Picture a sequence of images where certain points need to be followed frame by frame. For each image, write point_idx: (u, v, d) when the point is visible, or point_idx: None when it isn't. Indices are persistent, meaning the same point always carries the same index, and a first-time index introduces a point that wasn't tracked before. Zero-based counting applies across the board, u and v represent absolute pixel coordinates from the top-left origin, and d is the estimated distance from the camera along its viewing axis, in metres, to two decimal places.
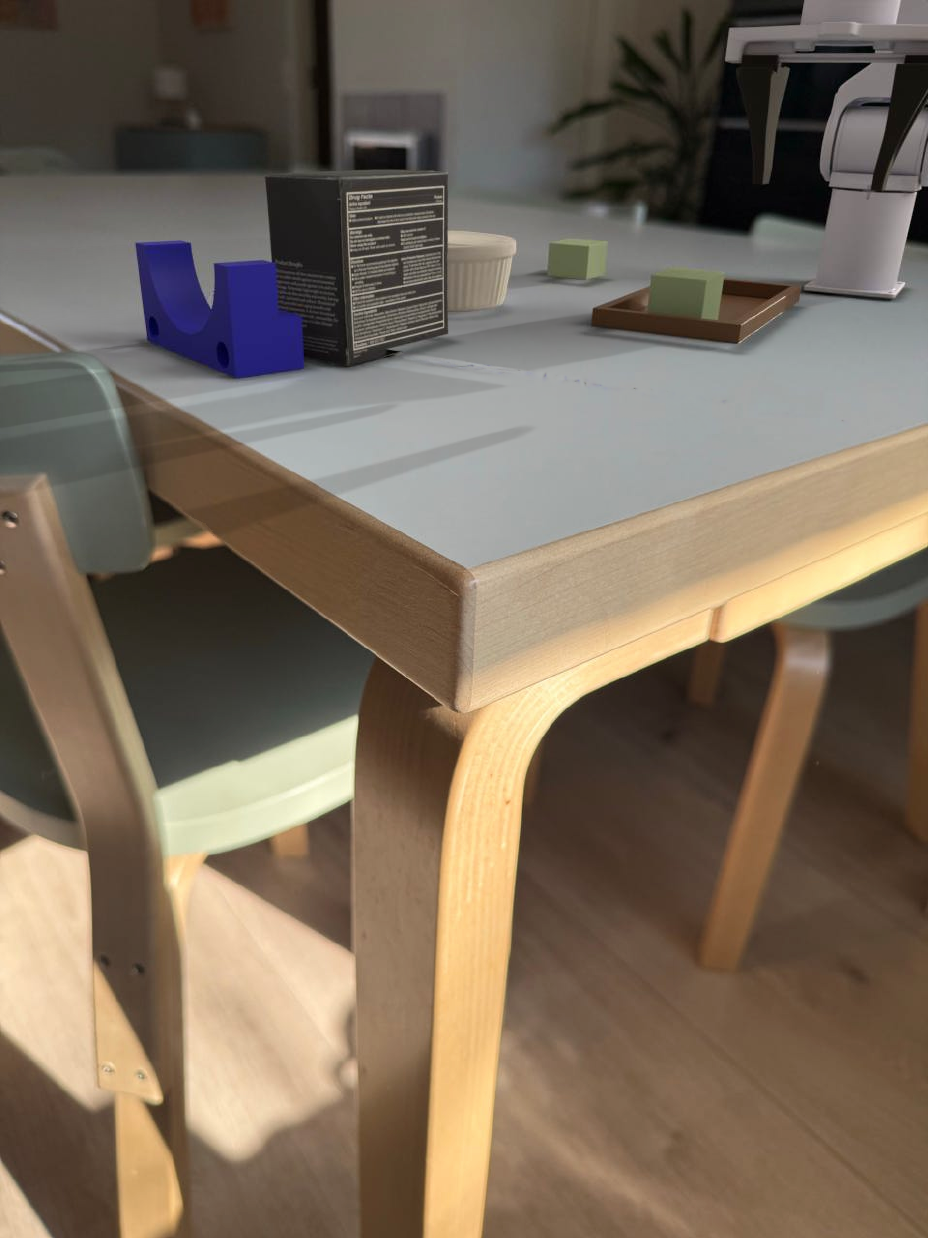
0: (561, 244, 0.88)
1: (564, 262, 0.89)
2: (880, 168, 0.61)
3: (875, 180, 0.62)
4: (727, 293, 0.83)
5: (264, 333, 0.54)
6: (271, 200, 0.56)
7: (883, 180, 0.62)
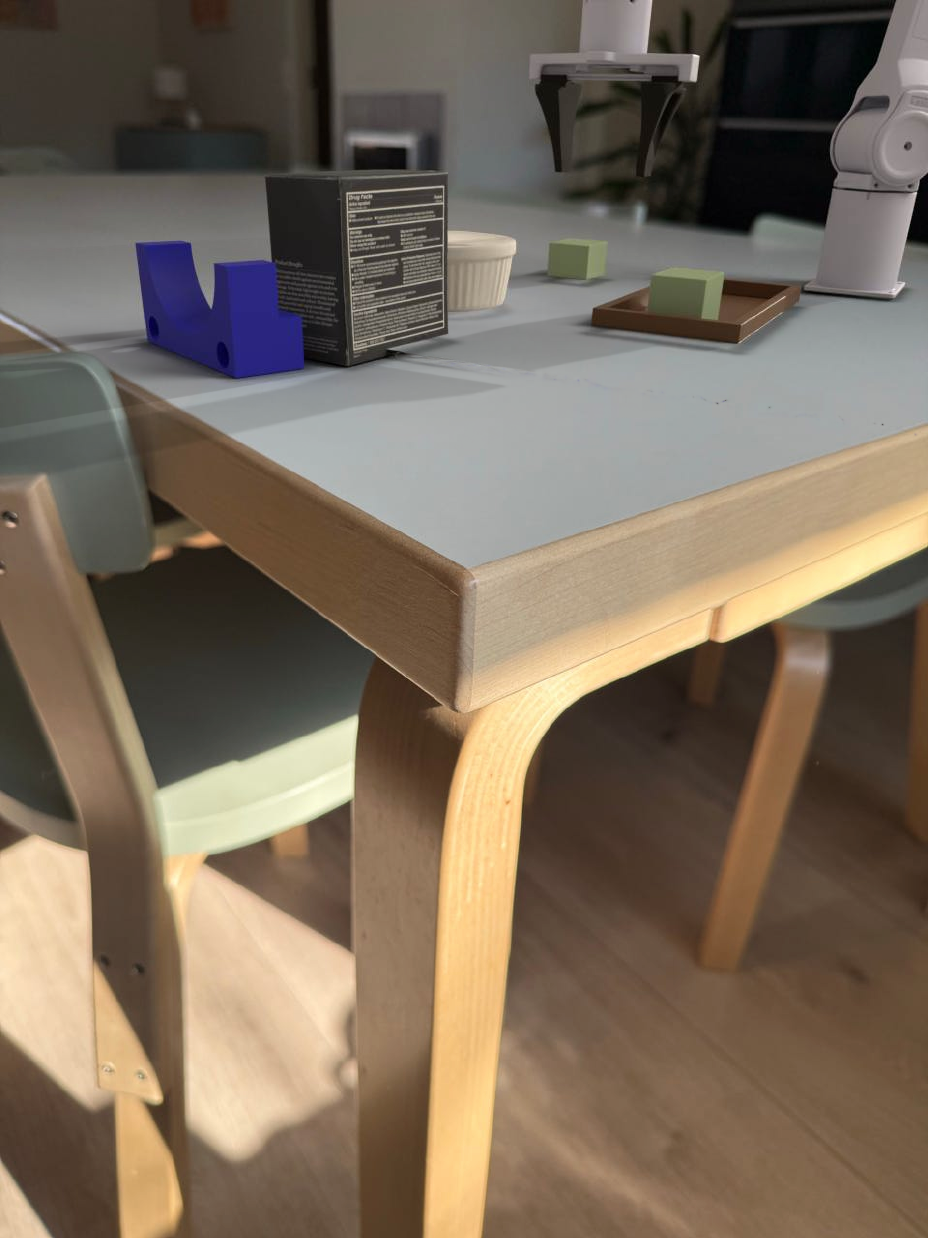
0: (561, 244, 0.88)
1: (564, 262, 0.89)
2: (640, 159, 0.82)
3: (638, 169, 0.82)
4: (727, 293, 0.83)
5: (264, 333, 0.54)
6: (271, 200, 0.56)
7: (644, 168, 0.82)
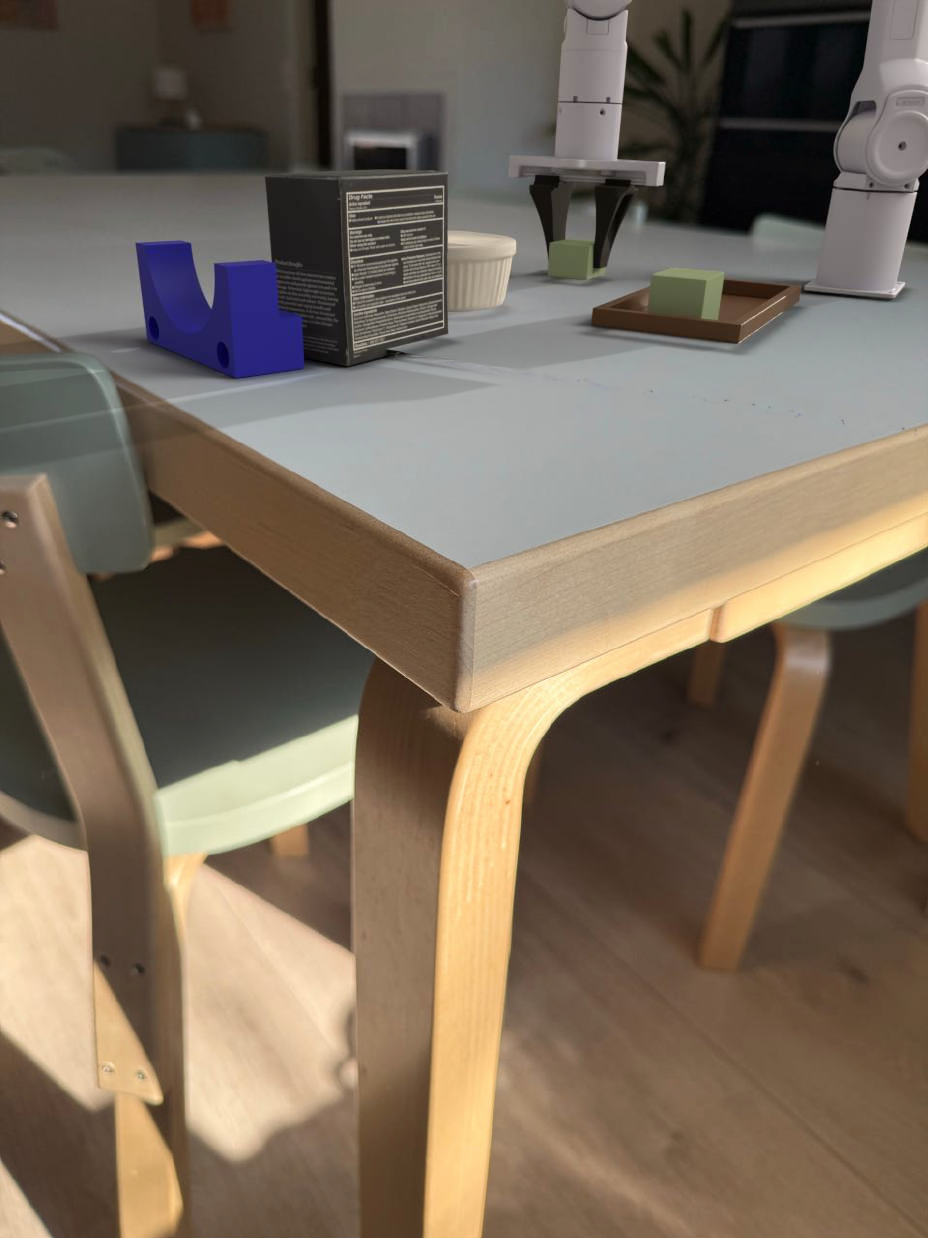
0: (561, 244, 0.88)
1: (565, 262, 0.89)
2: (596, 253, 0.88)
3: (594, 261, 0.89)
4: (727, 293, 0.83)
5: (264, 333, 0.54)
6: (271, 200, 0.56)
7: (599, 261, 0.89)
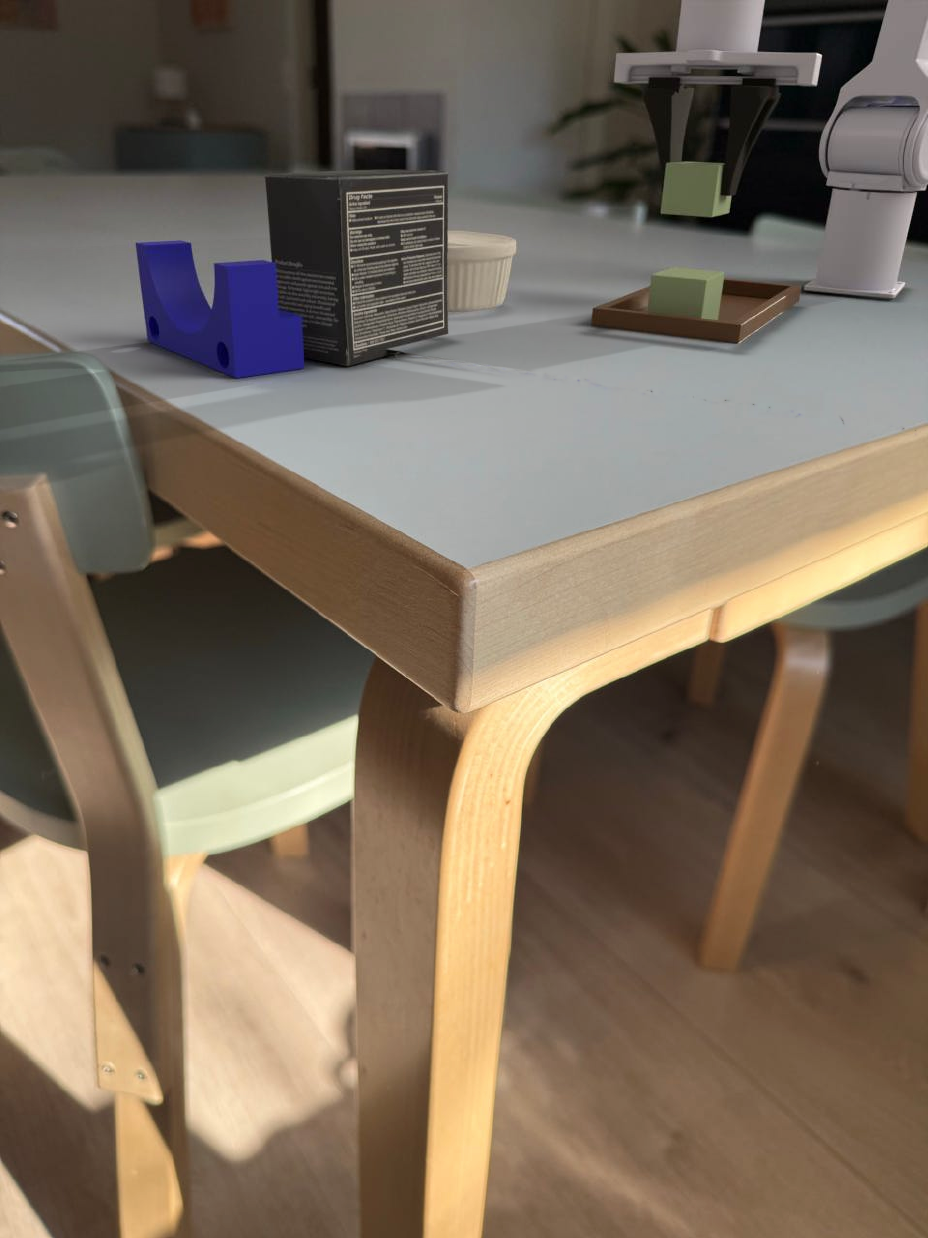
0: (682, 164, 0.70)
1: (685, 187, 0.71)
2: (726, 176, 0.70)
3: (723, 186, 0.71)
4: (727, 293, 0.83)
5: (264, 333, 0.54)
6: (271, 200, 0.56)
7: (730, 186, 0.70)
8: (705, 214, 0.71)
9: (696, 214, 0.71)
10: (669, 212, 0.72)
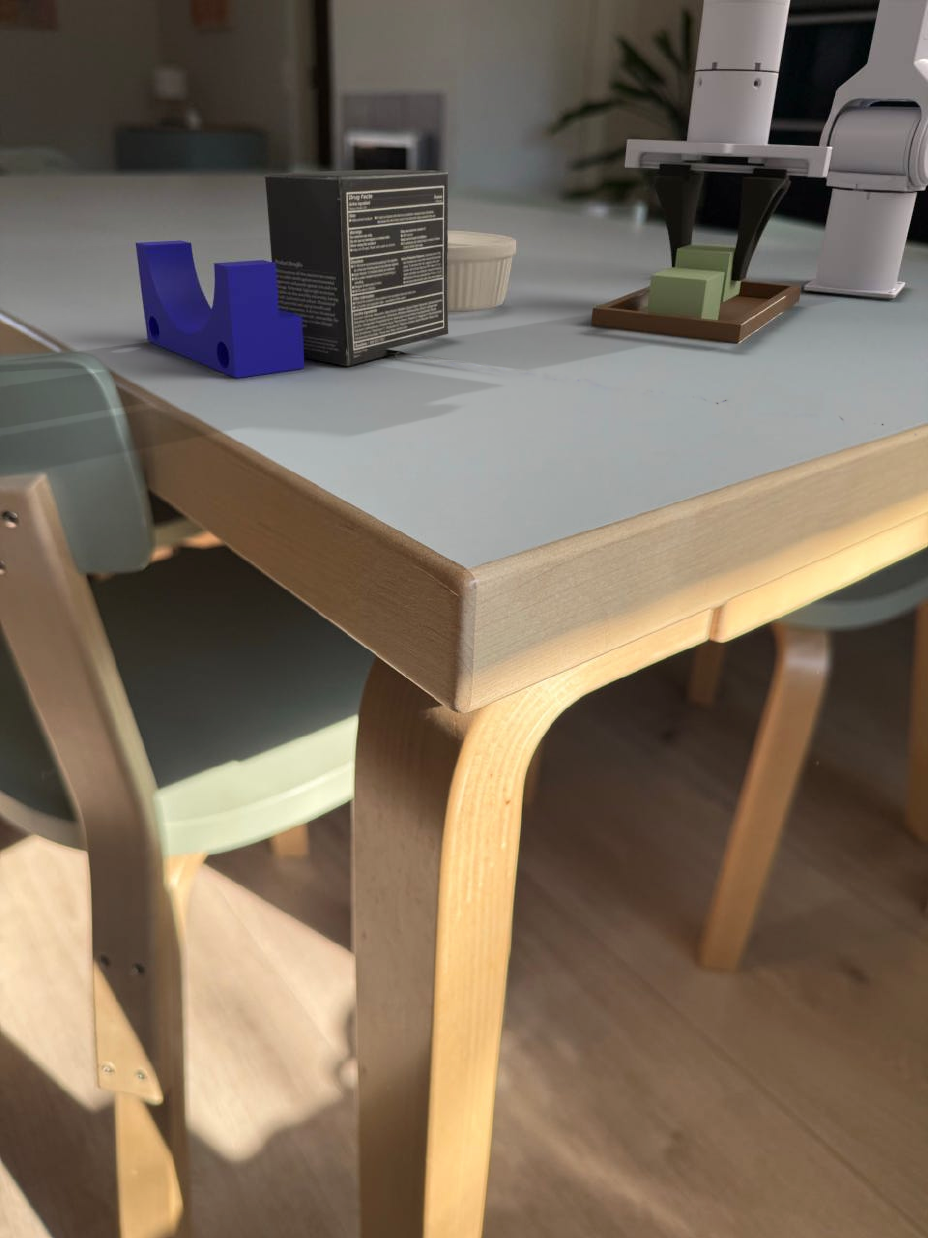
0: (693, 250, 0.70)
1: None
2: (737, 262, 0.71)
3: (733, 272, 0.71)
4: None
5: (264, 333, 0.54)
6: (271, 200, 0.56)
7: (740, 272, 0.71)
8: None
9: None
10: None
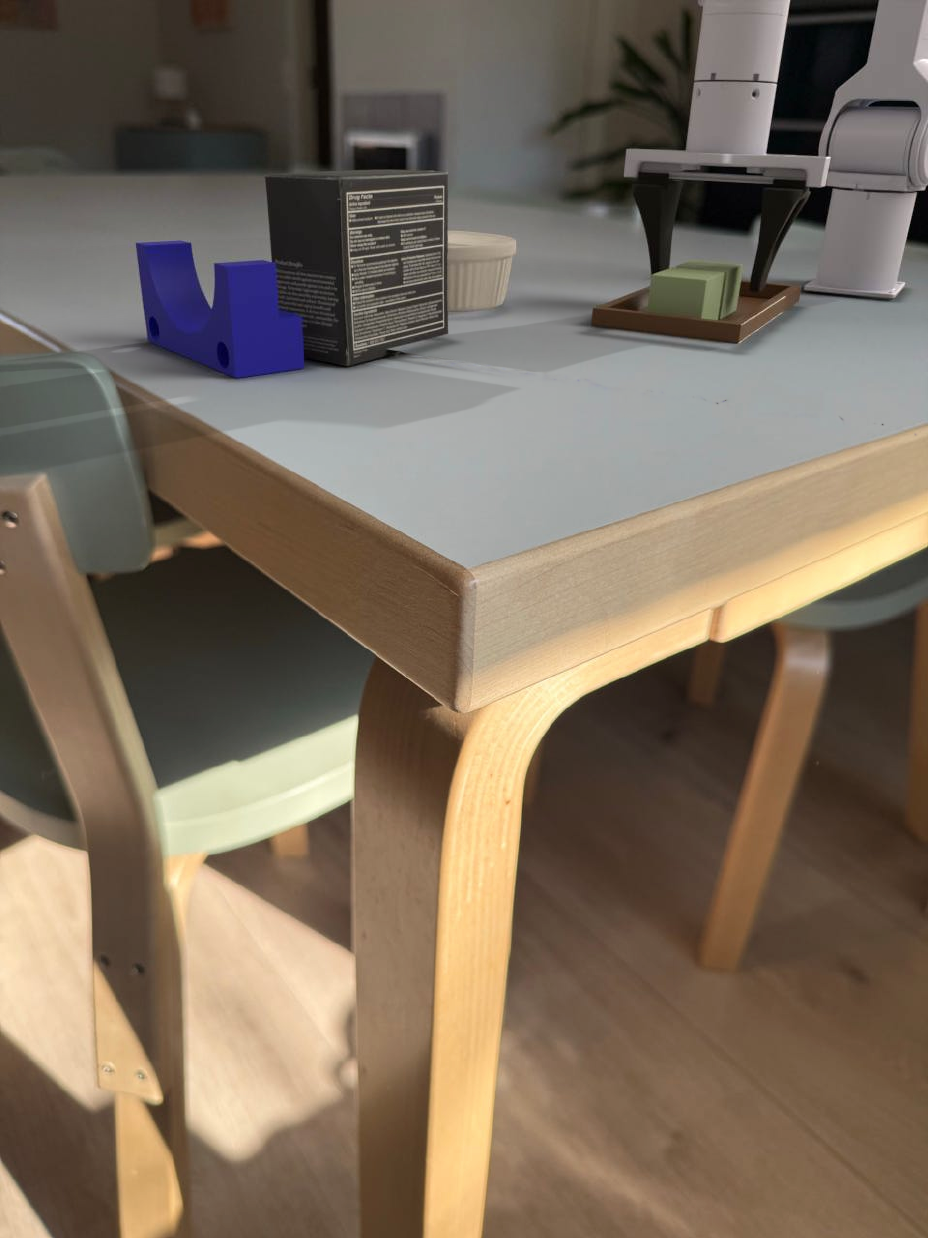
0: (691, 268, 0.71)
1: None
2: (756, 273, 0.70)
3: (753, 283, 0.71)
4: None
5: (264, 333, 0.54)
6: (271, 200, 0.56)
7: (759, 283, 0.71)
8: None
9: None
10: None
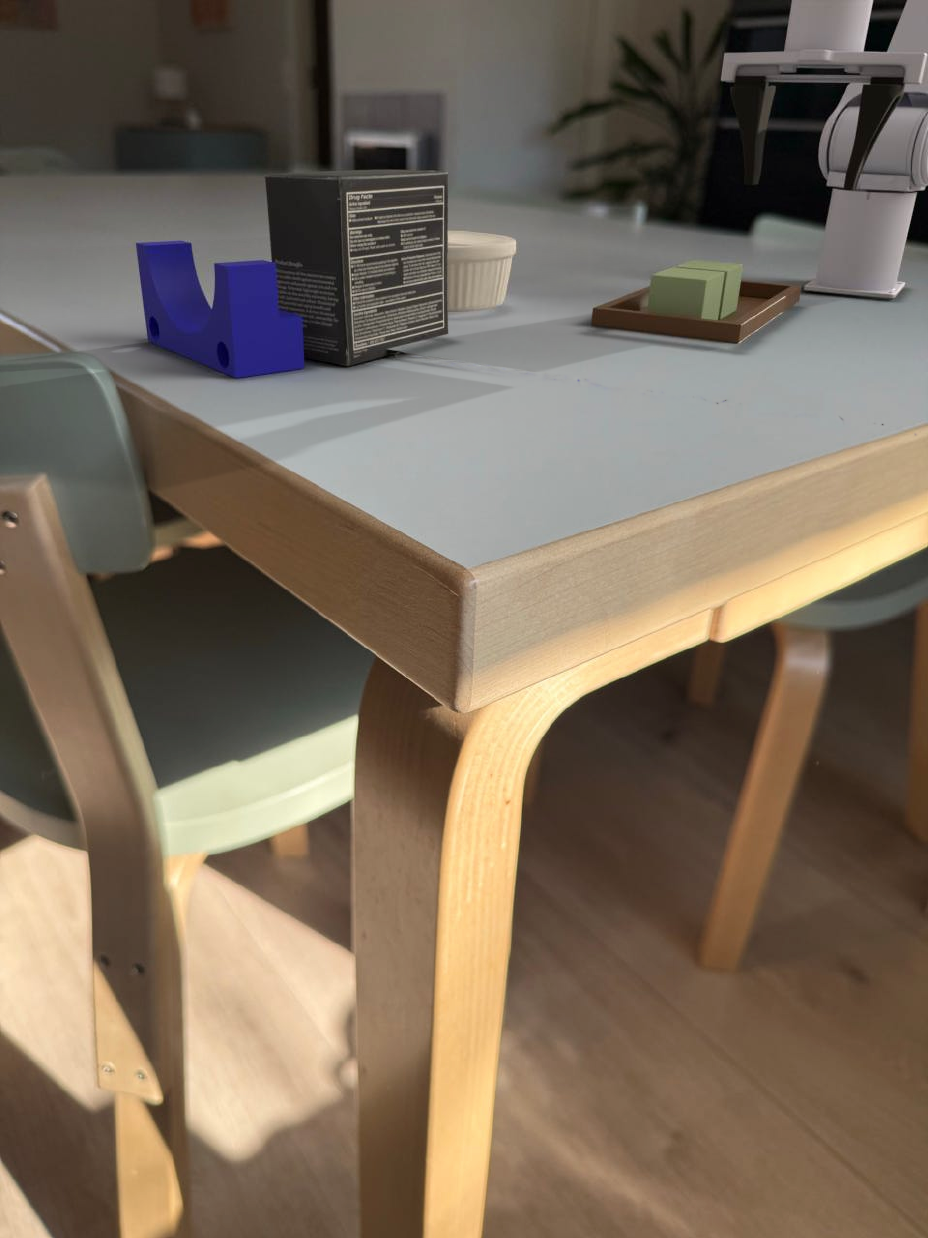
0: (691, 268, 0.71)
1: None
2: (851, 171, 0.73)
3: (847, 181, 0.73)
4: None
5: (264, 333, 0.54)
6: (271, 200, 0.56)
7: (854, 181, 0.73)
8: None
9: None
10: None
